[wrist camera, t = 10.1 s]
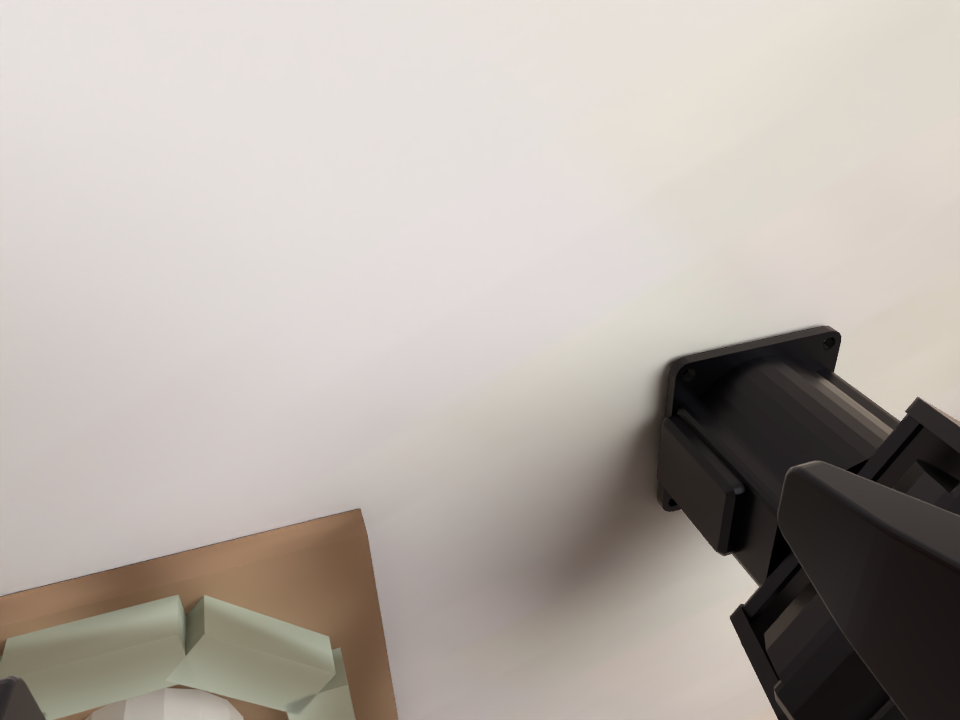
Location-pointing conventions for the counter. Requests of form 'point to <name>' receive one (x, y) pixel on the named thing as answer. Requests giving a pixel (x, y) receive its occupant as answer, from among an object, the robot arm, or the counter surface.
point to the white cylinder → (169, 707)
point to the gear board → (255, 578)
